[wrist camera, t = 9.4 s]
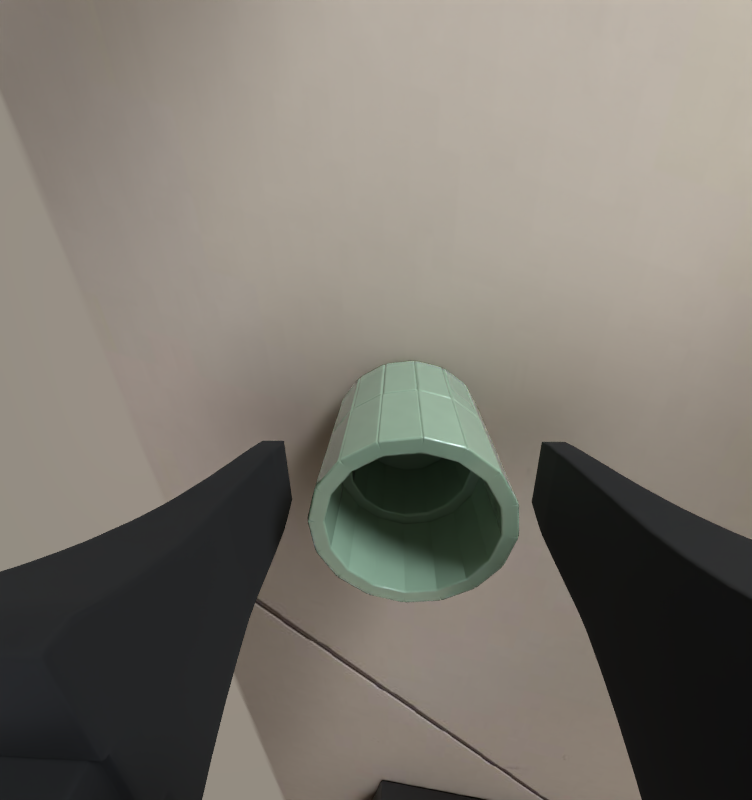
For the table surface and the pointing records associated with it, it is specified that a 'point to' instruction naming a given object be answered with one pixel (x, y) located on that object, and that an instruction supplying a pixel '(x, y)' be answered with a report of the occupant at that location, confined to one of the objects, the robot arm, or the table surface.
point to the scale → (412, 793)
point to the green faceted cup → (412, 488)
